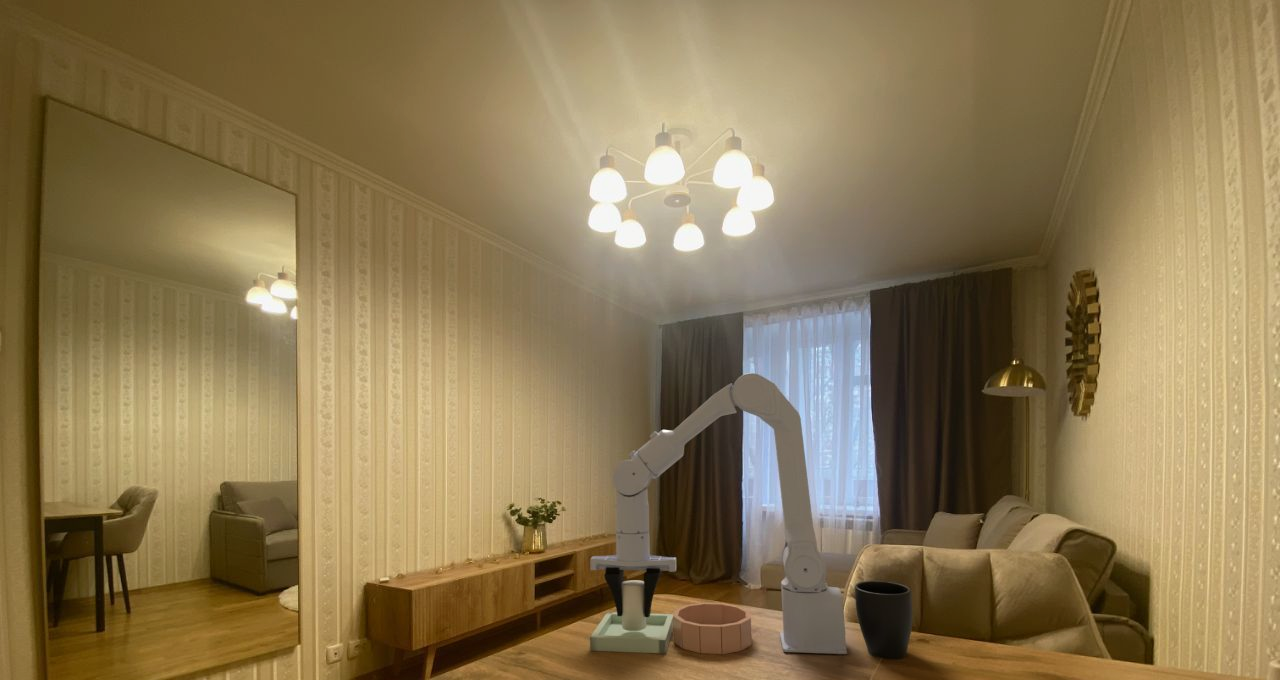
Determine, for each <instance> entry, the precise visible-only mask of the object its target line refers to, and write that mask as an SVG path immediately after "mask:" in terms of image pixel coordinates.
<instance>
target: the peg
mask: <svg viewBox="0 0 1280 680" xmlns="http://www.w3.org/2000/svg"><path fill="white" fill-rule="evenodd" d="M644 609H645V588H644V580H640V579H639V580H636V579H635V580H633V579H632V580H631V579H630V580H625V581H623V582H622V628H623V629H624V630H628V631H639V630H643V629H645V628H646V617H645V613H644Z"/></svg>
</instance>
